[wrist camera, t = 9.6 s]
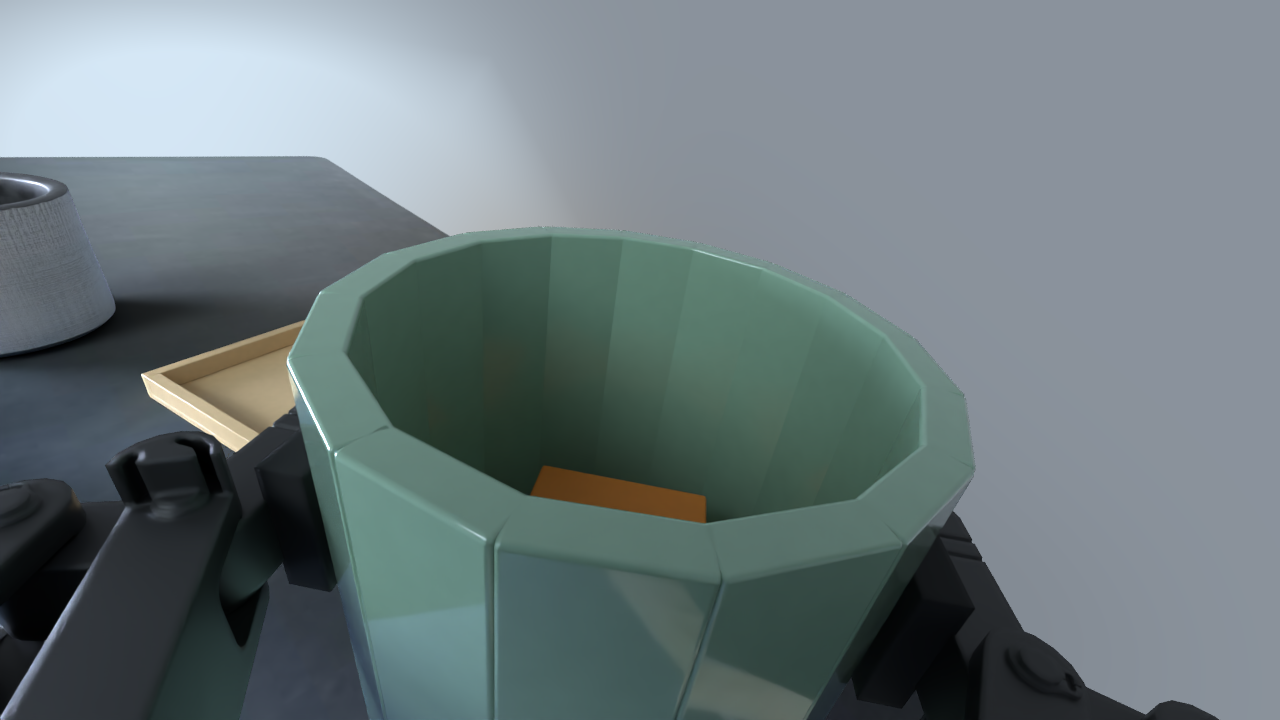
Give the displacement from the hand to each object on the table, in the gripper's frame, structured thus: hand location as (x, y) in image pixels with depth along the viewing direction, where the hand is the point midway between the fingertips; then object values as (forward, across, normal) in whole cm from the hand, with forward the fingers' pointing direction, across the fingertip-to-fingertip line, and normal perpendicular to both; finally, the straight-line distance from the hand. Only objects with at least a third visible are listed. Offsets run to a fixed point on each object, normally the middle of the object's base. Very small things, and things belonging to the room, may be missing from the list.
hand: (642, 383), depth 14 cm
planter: (+20, -52, -18) cm, 59 cm away
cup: (-4, 0, -6) cm, 7 cm away
